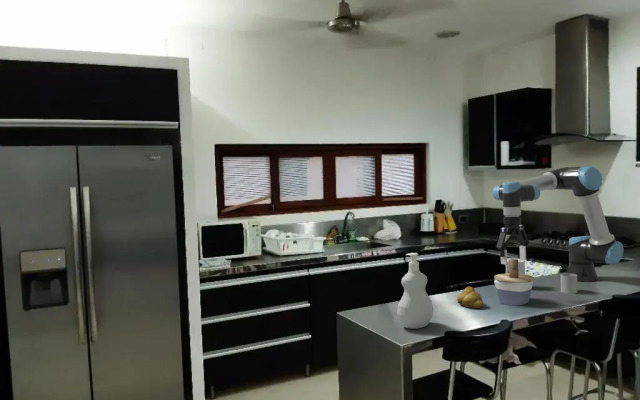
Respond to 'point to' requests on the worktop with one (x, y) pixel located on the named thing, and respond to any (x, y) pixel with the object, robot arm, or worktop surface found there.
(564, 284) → the cup
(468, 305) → the bread roll
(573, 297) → the mat
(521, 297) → the bowl
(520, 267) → the supplement box
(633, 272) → the worktop surface
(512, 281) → the lid
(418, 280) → the soap bottle
